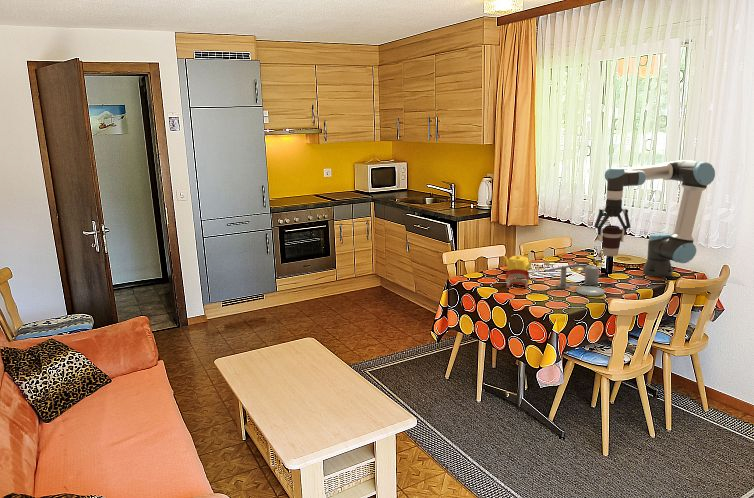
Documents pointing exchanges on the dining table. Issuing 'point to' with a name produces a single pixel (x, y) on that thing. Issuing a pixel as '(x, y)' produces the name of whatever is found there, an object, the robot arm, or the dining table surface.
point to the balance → (563, 273)
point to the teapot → (518, 262)
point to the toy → (516, 274)
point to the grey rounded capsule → (591, 275)
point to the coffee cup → (611, 240)
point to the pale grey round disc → (590, 291)
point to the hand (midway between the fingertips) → (611, 241)
